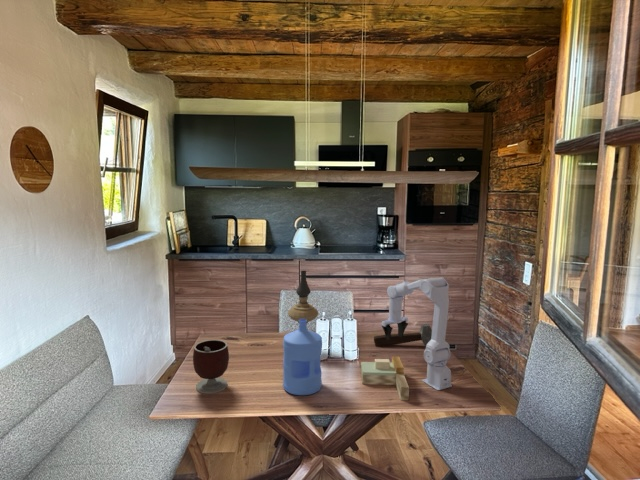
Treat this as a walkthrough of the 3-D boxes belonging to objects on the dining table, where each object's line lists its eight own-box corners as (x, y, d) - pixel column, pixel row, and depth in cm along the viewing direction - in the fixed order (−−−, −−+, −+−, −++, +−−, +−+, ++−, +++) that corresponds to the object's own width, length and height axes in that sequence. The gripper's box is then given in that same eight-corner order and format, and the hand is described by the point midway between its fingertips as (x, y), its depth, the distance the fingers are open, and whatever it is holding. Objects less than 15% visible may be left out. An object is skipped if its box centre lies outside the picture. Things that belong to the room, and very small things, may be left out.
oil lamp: (283, 347, 205) (283, 269, 200) (310, 342, 211) (311, 267, 206) (294, 358, 191) (294, 275, 186) (322, 353, 198) (324, 273, 192)
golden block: (398, 362, 177) (399, 356, 177) (403, 373, 166) (403, 367, 166) (391, 361, 177) (392, 356, 177) (396, 373, 166) (396, 367, 166)
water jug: (275, 384, 166) (275, 318, 163) (306, 374, 176) (307, 311, 172) (297, 400, 154) (297, 329, 150) (329, 388, 164) (330, 321, 160)
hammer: (376, 354, 207) (434, 347, 207) (373, 333, 206) (432, 326, 206) (374, 350, 212) (431, 343, 212) (372, 329, 211) (430, 322, 210)
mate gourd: (199, 377, 171) (198, 332, 169) (232, 378, 171) (231, 332, 169) (187, 396, 156) (186, 346, 153) (223, 397, 156) (222, 347, 153)
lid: (400, 367, 177) (400, 356, 176) (404, 377, 167) (404, 366, 166) (360, 366, 177) (361, 355, 177) (362, 376, 167) (363, 365, 167)
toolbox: (399, 374, 177) (400, 362, 177) (409, 400, 155) (410, 387, 155) (360, 373, 178) (361, 361, 177) (365, 399, 156) (365, 386, 155)
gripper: (401, 306, 197) (400, 332, 199) (377, 310, 190) (376, 338, 192) (411, 309, 191) (410, 337, 193) (387, 314, 184) (386, 343, 186)
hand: (394, 338), depth 192 cm, fingers open, 7 cm apart
